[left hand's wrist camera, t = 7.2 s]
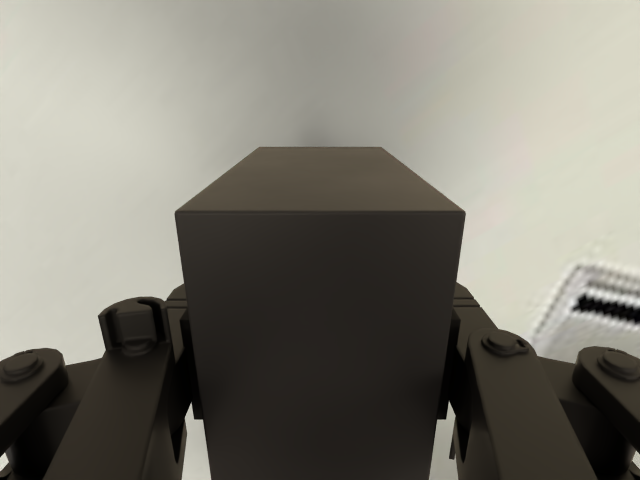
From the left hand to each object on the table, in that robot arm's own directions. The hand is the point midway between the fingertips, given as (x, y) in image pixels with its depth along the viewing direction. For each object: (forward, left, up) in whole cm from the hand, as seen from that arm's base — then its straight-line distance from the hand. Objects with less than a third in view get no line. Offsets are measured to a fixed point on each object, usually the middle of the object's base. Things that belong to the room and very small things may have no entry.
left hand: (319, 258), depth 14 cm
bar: (+9, +2, -1) cm, 10 cm away
